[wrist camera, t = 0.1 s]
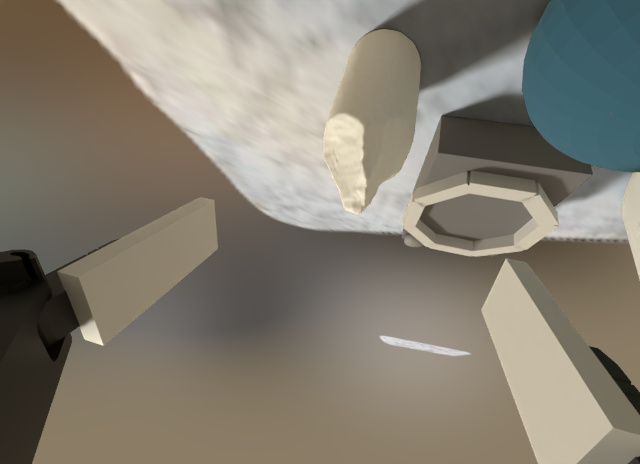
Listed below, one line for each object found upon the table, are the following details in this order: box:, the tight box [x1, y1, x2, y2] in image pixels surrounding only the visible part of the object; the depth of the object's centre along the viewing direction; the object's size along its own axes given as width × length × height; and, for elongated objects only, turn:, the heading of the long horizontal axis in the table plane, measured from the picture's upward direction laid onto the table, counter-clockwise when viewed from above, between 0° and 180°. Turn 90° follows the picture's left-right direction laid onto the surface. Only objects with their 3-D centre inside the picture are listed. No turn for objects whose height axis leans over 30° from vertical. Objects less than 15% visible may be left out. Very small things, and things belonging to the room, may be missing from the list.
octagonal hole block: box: [402, 116, 593, 257], centre depth 27 cm, size 14×11×5 cm
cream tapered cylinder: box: [323, 29, 421, 214], centre depth 18 cm, size 6×12×6 cm
